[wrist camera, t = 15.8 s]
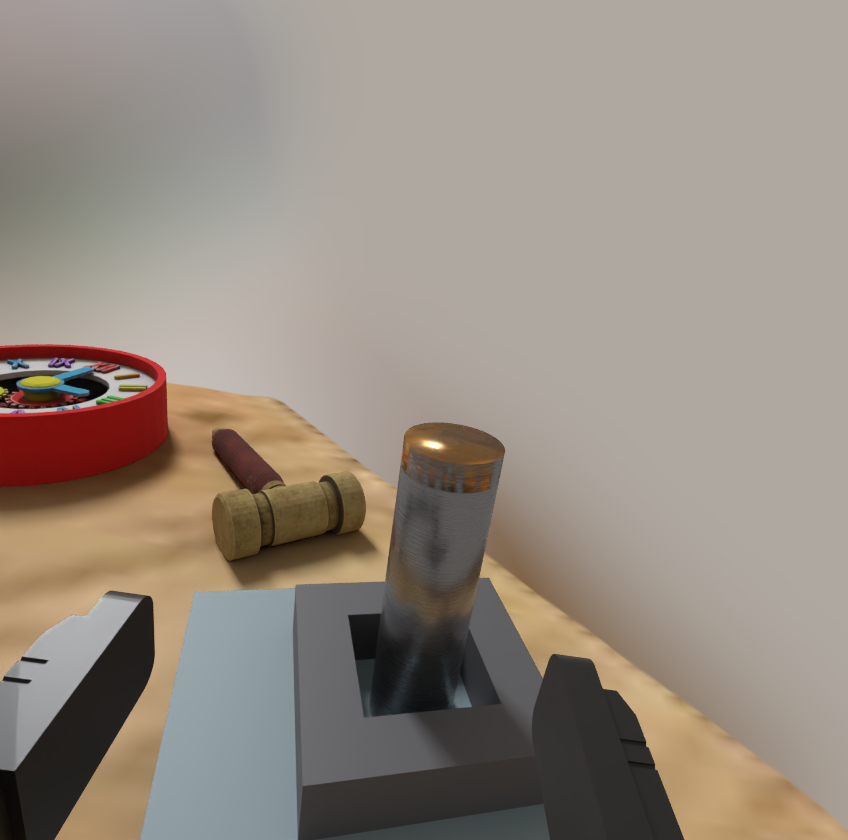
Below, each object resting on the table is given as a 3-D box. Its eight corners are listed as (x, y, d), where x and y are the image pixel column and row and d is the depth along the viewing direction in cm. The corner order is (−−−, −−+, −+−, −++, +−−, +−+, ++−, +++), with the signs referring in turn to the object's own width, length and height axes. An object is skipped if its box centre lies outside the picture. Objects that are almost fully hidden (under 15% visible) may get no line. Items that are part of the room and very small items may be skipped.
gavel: (159, 413, 50) (266, 404, 56) (161, 459, 52) (265, 446, 58) (231, 511, 34) (369, 484, 40) (231, 574, 36) (365, 540, 42)
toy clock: (-196, 382, 40) (37, 334, 59) (-177, 455, 42) (43, 386, 61) (44, 437, 37) (209, 368, 56) (52, 512, 39) (209, 422, 58)
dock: (106, 1022, 16) (96, 940, 15) (194, 606, 32) (193, 548, 31) (635, 905, 21) (666, 834, 19) (481, 593, 37) (492, 543, 36)
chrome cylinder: (376, 748, 24) (417, 463, 19) (363, 676, 28) (395, 420, 23) (461, 737, 25) (521, 465, 20) (439, 669, 29) (485, 424, 24)
